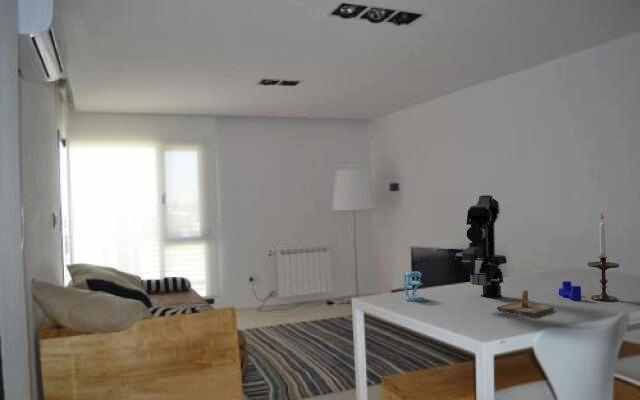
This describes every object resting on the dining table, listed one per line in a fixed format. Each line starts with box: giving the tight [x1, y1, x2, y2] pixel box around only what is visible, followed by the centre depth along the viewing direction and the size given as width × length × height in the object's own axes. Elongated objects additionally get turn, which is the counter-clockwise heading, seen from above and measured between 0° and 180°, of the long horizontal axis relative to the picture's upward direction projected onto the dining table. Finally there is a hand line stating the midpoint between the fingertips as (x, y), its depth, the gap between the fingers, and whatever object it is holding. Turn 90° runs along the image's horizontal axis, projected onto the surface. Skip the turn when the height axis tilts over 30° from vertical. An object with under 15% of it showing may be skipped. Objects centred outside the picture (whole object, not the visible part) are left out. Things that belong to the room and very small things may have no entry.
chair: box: [402, 271, 426, 302], centre depth 203 cm, size 8×8×12 cm
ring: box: [470, 272, 491, 286], centre depth 180 cm, size 7×7×4 cm
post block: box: [496, 289, 554, 318], centre depth 177 cm, size 14×14×8 cm
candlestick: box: [587, 212, 620, 303], centre depth 192 cm, size 11×11×35 cm
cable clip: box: [558, 280, 582, 302], centre depth 197 cm, size 12×4×6 cm, turn 171°
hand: (480, 281), depth 180 cm, fingers closed on ring, 7 cm apart
